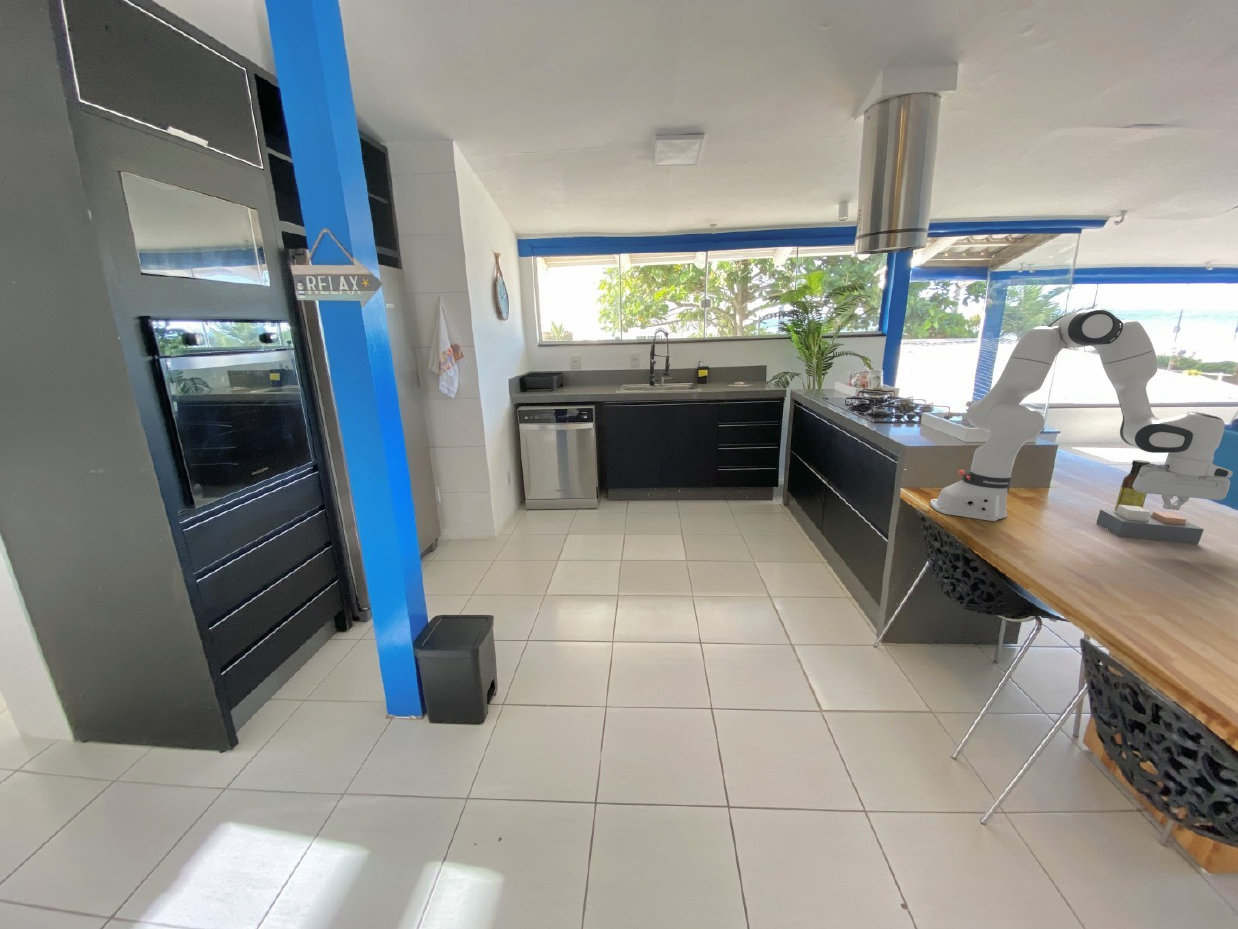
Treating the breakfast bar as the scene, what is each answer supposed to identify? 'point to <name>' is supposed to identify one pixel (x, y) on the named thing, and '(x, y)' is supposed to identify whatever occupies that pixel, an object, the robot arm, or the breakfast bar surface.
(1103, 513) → the keypad
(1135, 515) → the cream key
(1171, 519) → the terracotta key
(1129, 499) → the sauce bottle
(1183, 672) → the breakfast bar surface
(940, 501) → the robot arm
